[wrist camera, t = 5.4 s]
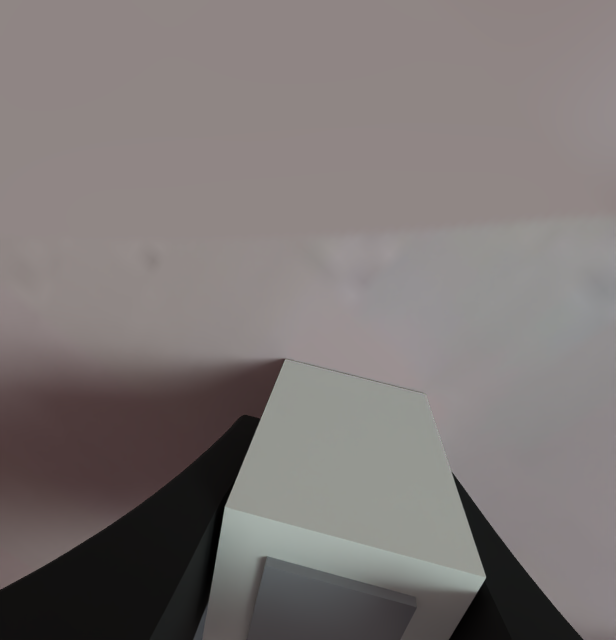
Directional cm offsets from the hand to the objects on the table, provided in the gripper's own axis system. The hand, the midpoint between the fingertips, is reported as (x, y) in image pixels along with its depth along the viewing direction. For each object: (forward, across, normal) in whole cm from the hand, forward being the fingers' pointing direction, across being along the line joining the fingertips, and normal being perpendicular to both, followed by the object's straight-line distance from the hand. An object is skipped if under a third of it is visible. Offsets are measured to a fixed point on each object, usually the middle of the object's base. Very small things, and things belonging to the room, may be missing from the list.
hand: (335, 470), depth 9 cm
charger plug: (+2, 0, 0) cm, 2 cm away
